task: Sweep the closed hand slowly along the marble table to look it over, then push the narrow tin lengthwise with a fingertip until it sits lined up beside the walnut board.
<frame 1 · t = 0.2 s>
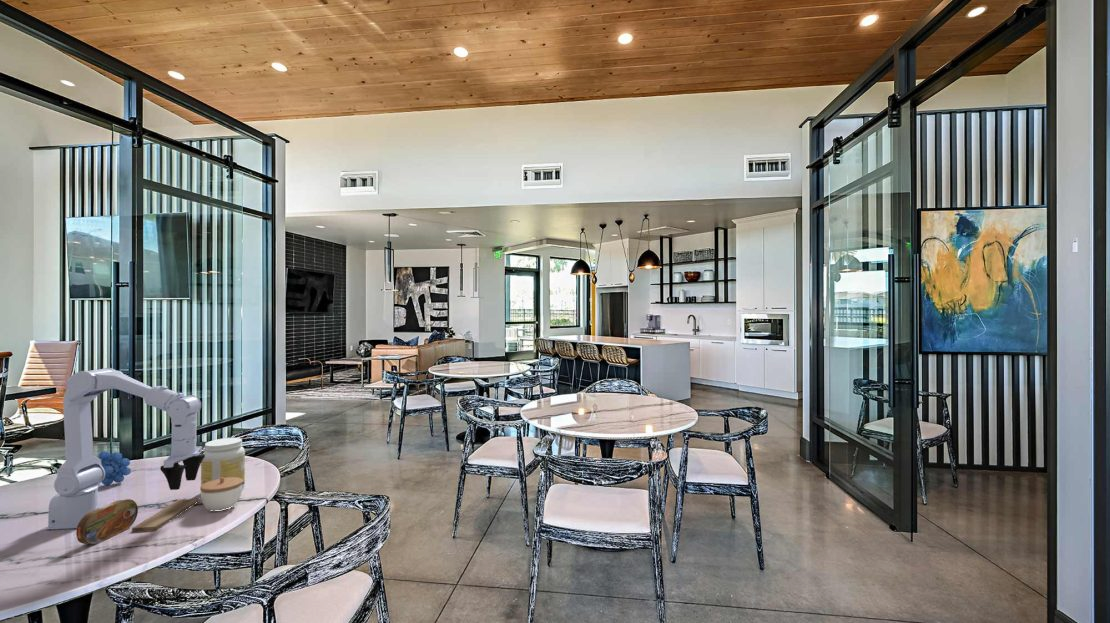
hand: (183, 484, 137), 10 cm above the table, tool pointing down, fingers open, 7 cm apart
lidded jar: (221, 508, 145), on the table
walnut board: (168, 515, 139), on the table
tin: (107, 537, 126), on the table
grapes: (107, 486, 163), on the table
supplement tub: (223, 491, 159), on the table
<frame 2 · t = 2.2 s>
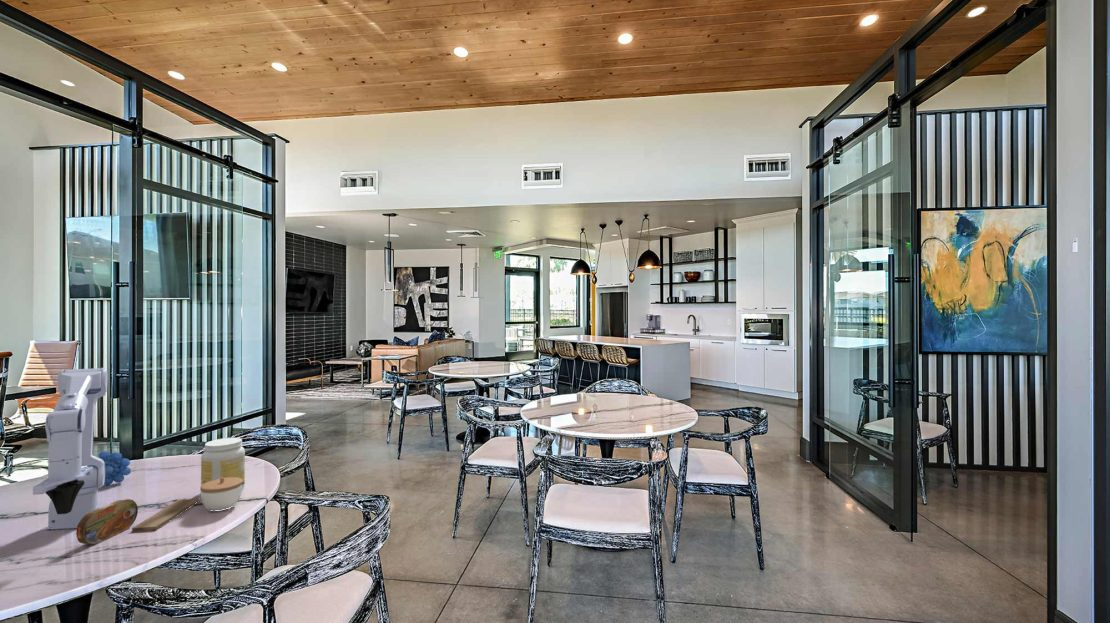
hand: (64, 513, 116), 10 cm above the table, tool pointing down, fingers closed
nothing on the table moved.
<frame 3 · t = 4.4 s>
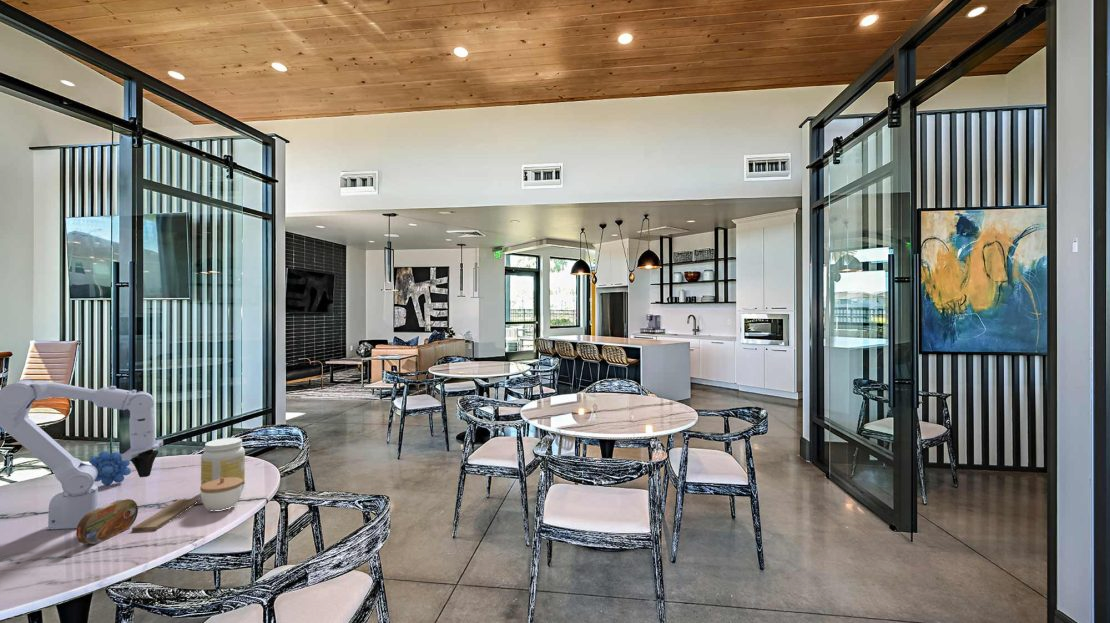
hand: (144, 476, 143), 10 cm above the table, tool pointing down, fingers closed
nothing on the table moved.
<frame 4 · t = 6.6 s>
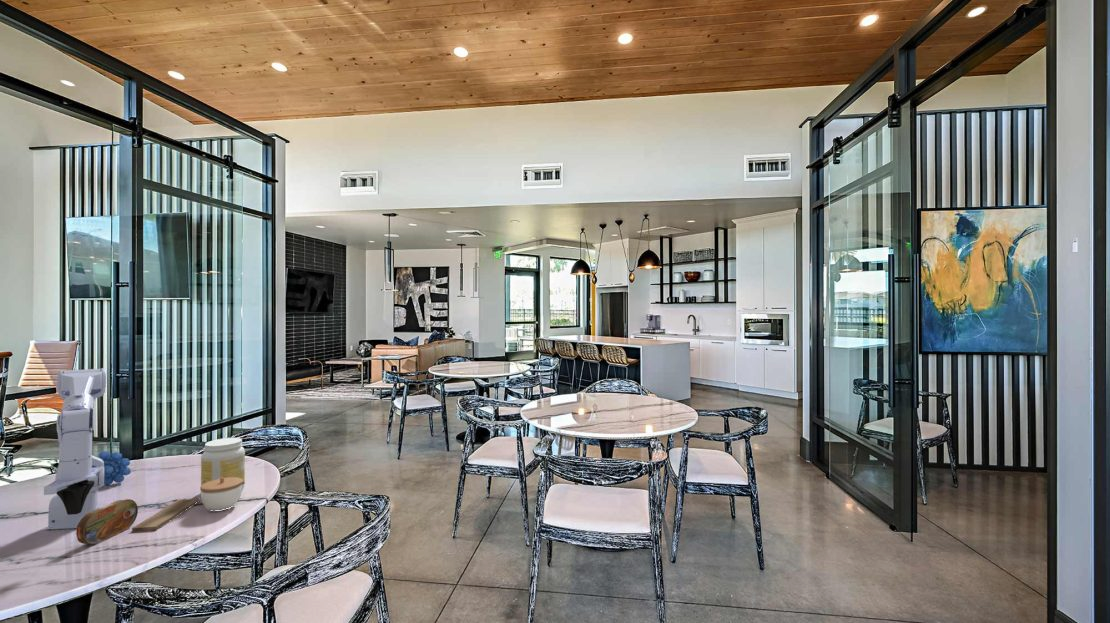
hand: (74, 513, 116), 11 cm above the table, tool pointing down, fingers closed
nothing on the table moved.
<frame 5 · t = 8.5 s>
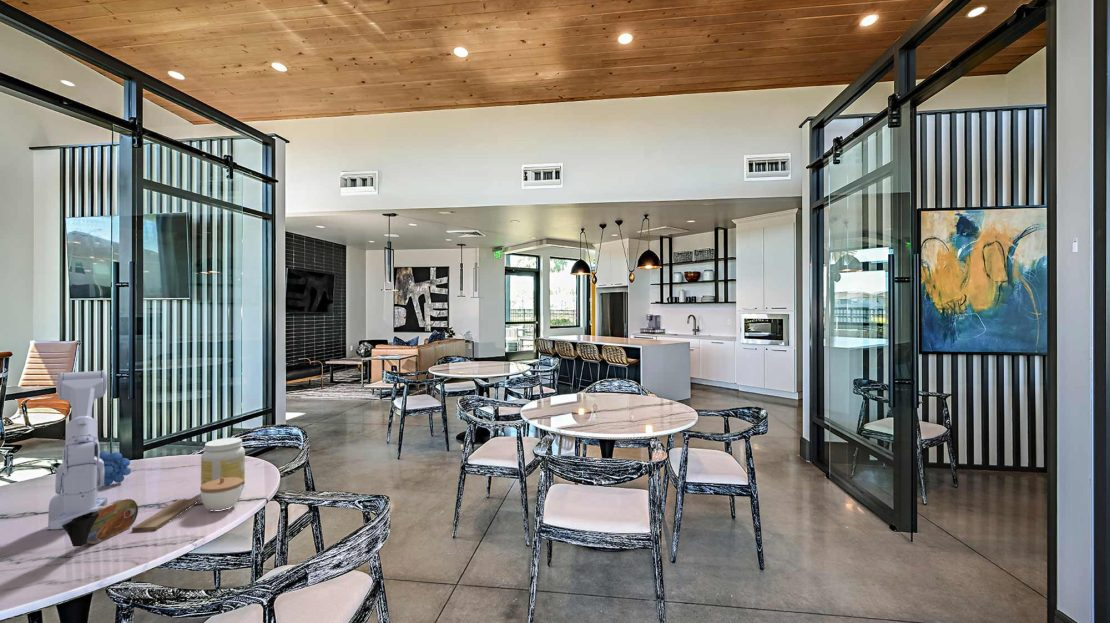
hand: (79, 545, 117), 2 cm above the table, tool pointing down, fingers closed
tin: (107, 536, 126), on the table, touching gripper
everything else where it was.
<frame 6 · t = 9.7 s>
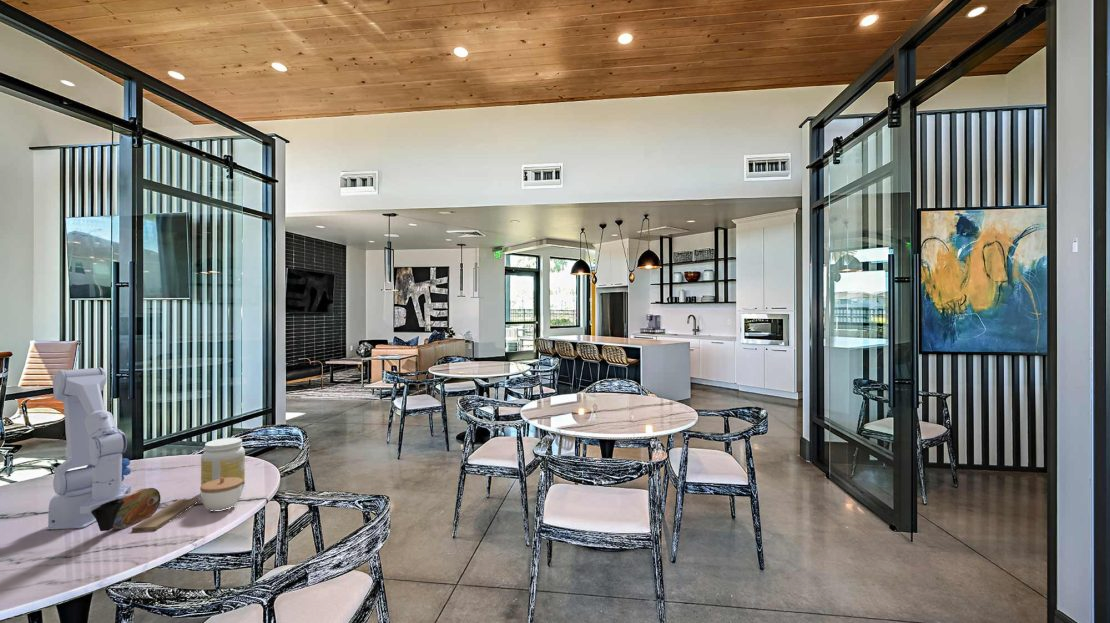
hand: (106, 530, 126), 2 cm above the table, tool pointing down, fingers closed
tin: (132, 522, 135), on the table, touching gripper
everything else where it was.
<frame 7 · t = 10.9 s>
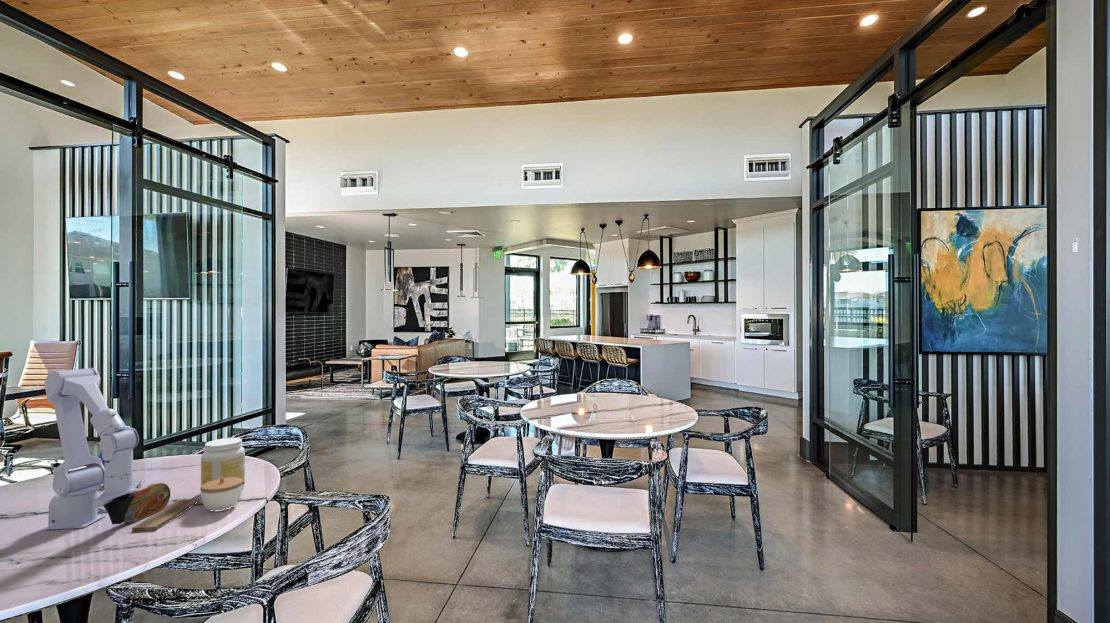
hand: (117, 523, 130), 2 cm above the table, tool pointing down, fingers closed
tin: (143, 516, 139), on the table, touching gripper
everything else where it was.
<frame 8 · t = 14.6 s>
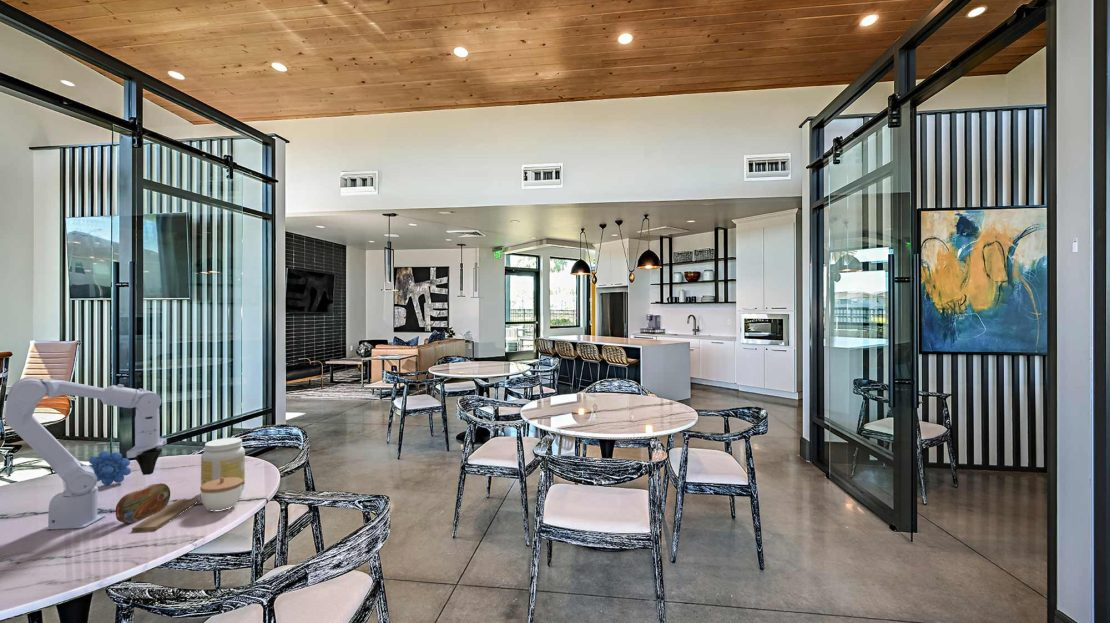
hand: (147, 474, 145), 10 cm above the table, tool pointing down, fingers closed
tin: (143, 517, 139), on the table
everything else where it was.
at the end: tin 0.8 cm from the target spot on the table beside the walnut board, on the table; tin tilted 0°; tin moved 12.6 cm from its start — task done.
